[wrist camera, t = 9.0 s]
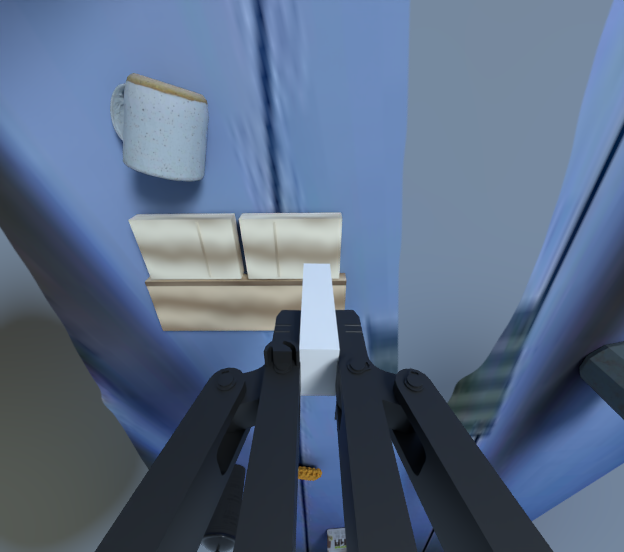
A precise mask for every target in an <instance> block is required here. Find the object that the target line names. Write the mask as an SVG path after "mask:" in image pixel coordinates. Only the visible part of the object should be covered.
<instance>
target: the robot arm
mask: <svg viewBox="0 0 624 552" xmlns="http://www.w3.org/2000/svg"><path fill="white" fill-rule="evenodd" d="M264 358H265V364H264V365H263V366H262V367H261V368H259V369H257V370H254V371H251V372H247V373H242V372H241V371H240V370H238V369H236V368H225V369H221V370H220V371H218V372H216V373H215V374H214V375H213V376H212V377H211V378H210V379H209V381H208V382H207V384H206V385H205V387H204V388H203V390H202V391H201V393H200V394H199V396H198V397H197V399H196V400H195V402H194V403H193V405H192V406H191V408H190V409H189V411H188V412H187V414H186V415H185V417H184V418H183V420H182V421H181V423H180V424H179V426H178V427H177V429H176V430H175V432H174V433H173V435H172V436H171V438H170V439H169V441H168V442H167V444H166V445H165V447H164V448H163V450H162V451H161V453H160V454H159V456H158V457H157V459H156V460H155V462H154V463H153V465H152V466H151V468H150V469H149V471H148V472H147V474H146V475H145V477H144V478H143V480H142V481H141V483H140V484H139V486H138V487H137V489H136V490H135V492H134V493H133V495H132V497H131V498H130V500H129V501H128V502H127V504H126V506H125V507H124V508H123V510H122V511H121V513H120V515H119V516H118V517H117V519H116V521H115V522H114V523H113V525H112V527H111V528H110V530H109V531H108V533H107V534H106V536H105V537H104V539H103V540H102V542H101V543H100V545H99V546H98V548H97V549H96V551H95V552H197V550H198V548H199V546H200V543H201V541H202V539H203V536H204V534H205V532H206V530H207V527H208V525H209V523H210V520H211V518H212V516H213V513H214V511H215V509H216V507H217V504H218V502H219V500H220V497H221V495H222V493H223V490H224V488H225V486H226V484H227V481H228V479H229V477H230V474H231V472H232V470H233V468H234V465H235V463H236V461H237V458H238V456H239V454H240V451H241V449H242V447H243V445H244V442H245V440H246V438H247V435H248V433H249V431H250V428H251V427H252V426H255V429H254V435H253V440H252V446H251V452H250V458H249V463H248V469H247V475H246V481H245V486H244V492H243V498H242V504H241V509H240V515H239V521H238V527H237V532H236V538H235V544H234V550H233V552H295V547H296V519H297V490H298V461H299V432H300V396H335V395H336V400H337V401H336V411H335V420H337V431H338V444H339V458H340V471H341V484H342V497H343V510H344V523H345V536H346V550H347V552H417V548H416V544H415V539H414V535H413V531H412V527H411V522H410V518H409V514H408V510H407V505H406V501H405V497H404V493H403V488H402V484H401V480H400V475H399V471H398V467H397V463H396V458H395V454H394V450H393V446H392V442H393V444H394V446H395V448H396V450H397V453H398V455H399V457H400V459H401V461H402V463H403V465H404V467H405V469H406V472H407V474H408V476H409V478H410V480H411V482H412V484H413V486H414V488H415V491H416V493H417V495H418V497H419V499H420V501H421V503H422V505H423V507H424V510H425V512H426V514H427V516H428V518H429V520H430V522H431V524H432V527H433V529H434V531H435V533H436V535H437V537H438V539H439V541H440V543H441V546H442V548H443V550H444V552H553V551H552V549H551V548H550V547H549V545H548V544H547V542H546V541H545V539H544V538H543V537H542V535H541V534H540V532H539V531H538V530H537V528H536V527H535V526H534V524H533V523H532V521H531V520H530V519H529V517H528V516H527V514H526V513H525V512H524V510H523V509H522V507H521V506H520V505H519V503H518V502H517V500H516V499H515V498H514V496H513V495H512V493H511V492H510V491H509V489H508V488H507V486H506V485H505V484H504V482H503V481H502V479H501V478H500V477H499V475H498V474H497V472H496V471H495V470H494V468H493V467H492V465H491V464H490V463H489V461H488V460H487V458H486V457H485V456H484V454H483V453H482V452H481V450H480V449H479V447H478V446H477V445H476V443H475V442H474V440H473V439H472V438H471V436H470V435H469V433H468V432H467V431H466V429H465V428H464V426H463V425H462V424H461V422H460V421H459V419H458V418H457V417H456V415H455V414H454V412H453V411H452V410H451V408H450V407H449V405H448V404H447V403H446V401H445V400H444V398H443V397H442V396H441V394H440V393H439V391H438V390H437V389H436V387H435V386H434V385H433V383H432V382H431V380H430V379H429V378H428V377H427V376H426V375H425V374H423V373H421V372H420V371H418V370H414V369H403V370H401V371H399V372H398V373H397V375H396V374H393V373H389V372H386V371H383V370H380V369H379V368H377V367H376V366H374V365H373V364H372V362H371V361H370V360H369V358H368V355H367V350H366V346H365V341H364V337H363V333H362V328H361V323H360V319H359V316H358V315H357V314H356V313H355V311H354V310H335V304H334V296H333V287H332V278H331V269H330V264H310V263H304V267H303V286H302V306H301V310H281V312H280V313H279V314H278V315H277V317H276V322H275V328H274V334H273V340H272V342H270V343H269V344H268V345H267V346H266V347H265V350H264ZM391 440H392V441H391Z"/></svg>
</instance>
